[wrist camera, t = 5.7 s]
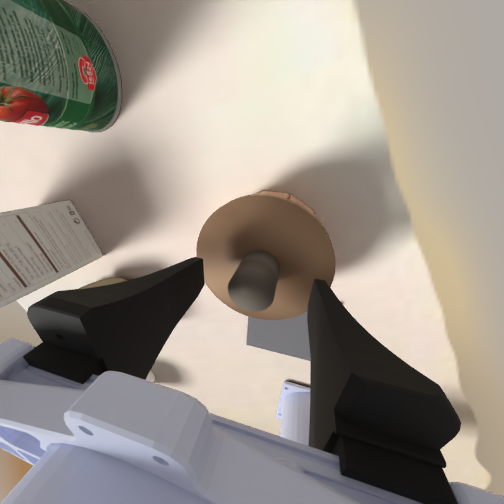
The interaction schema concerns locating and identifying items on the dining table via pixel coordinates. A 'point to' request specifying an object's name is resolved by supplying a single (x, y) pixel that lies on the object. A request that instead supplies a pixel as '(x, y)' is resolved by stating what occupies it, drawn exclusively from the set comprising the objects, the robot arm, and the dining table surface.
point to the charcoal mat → (281, 335)
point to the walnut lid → (265, 256)
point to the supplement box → (41, 247)
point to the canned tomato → (56, 67)
